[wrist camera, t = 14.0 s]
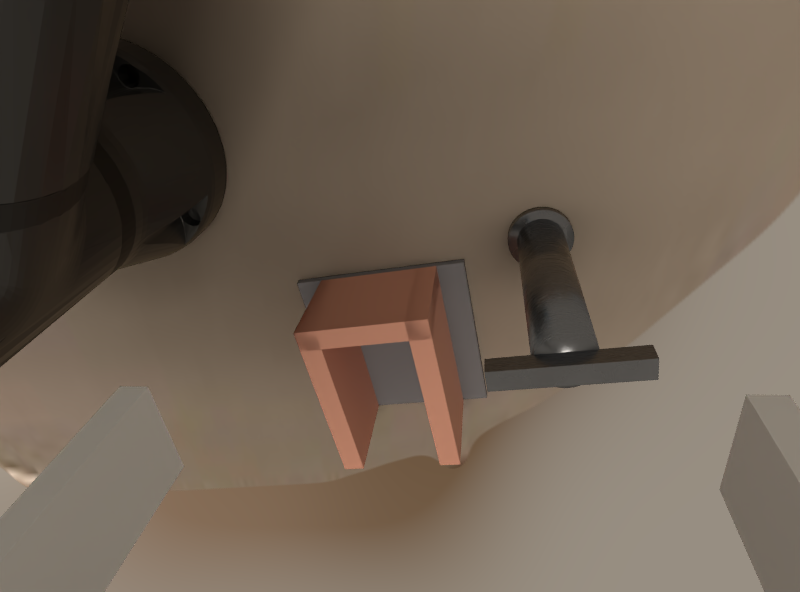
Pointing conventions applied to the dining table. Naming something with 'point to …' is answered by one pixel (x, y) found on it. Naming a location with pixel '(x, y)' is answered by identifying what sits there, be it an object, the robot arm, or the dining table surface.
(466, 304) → the mat
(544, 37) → the dining table surface
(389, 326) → the c link
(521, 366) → the stand
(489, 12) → the dining table surface
